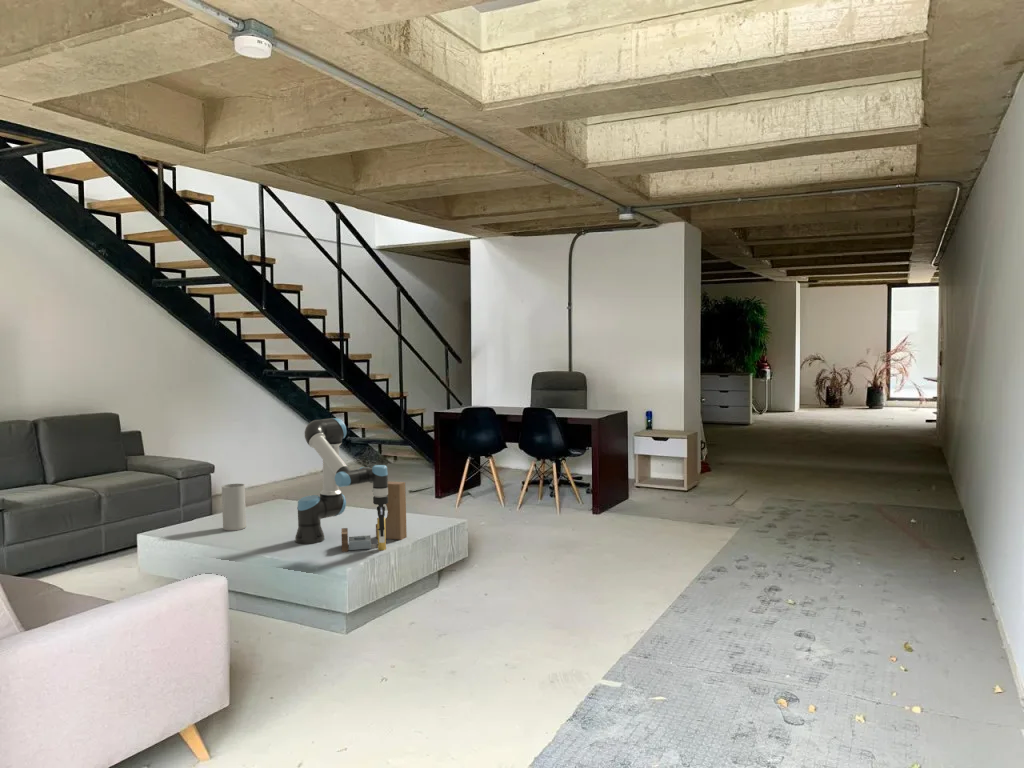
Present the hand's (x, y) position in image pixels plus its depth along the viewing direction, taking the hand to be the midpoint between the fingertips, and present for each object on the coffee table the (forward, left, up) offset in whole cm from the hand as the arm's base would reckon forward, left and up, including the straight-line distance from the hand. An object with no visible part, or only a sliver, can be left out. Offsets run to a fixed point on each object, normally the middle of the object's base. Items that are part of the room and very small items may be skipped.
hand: (381, 541), depth 389 cm
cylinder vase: (-70, -81, -4) cm, 107 cm away
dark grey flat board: (-7, -8, -4) cm, 11 cm away
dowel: (0, 0, -4) cm, 4 cm away
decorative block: (-23, +6, -4) cm, 24 cm away
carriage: (-7, -11, -4) cm, 14 cm away
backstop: (-7, -19, -4) cm, 20 cm away
